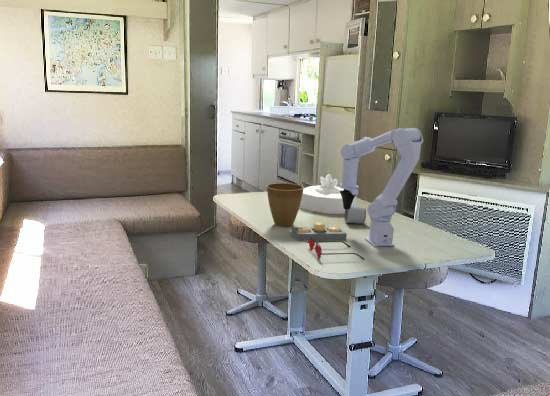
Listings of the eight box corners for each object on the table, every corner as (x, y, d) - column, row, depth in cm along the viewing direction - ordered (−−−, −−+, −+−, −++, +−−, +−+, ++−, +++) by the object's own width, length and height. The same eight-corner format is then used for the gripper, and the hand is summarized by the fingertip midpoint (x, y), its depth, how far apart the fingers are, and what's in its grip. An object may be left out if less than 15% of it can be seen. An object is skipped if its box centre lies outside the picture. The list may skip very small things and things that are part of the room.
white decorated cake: (340, 216, 226) (343, 180, 222) (291, 207, 238) (293, 173, 234) (360, 206, 247) (363, 173, 244) (314, 198, 259) (316, 167, 256)
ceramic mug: (365, 225, 211) (367, 207, 210) (346, 224, 211) (347, 206, 210) (361, 219, 222) (362, 202, 220) (342, 218, 221) (343, 201, 220)
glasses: (306, 248, 179) (307, 235, 178) (350, 247, 182) (351, 234, 181) (317, 262, 166) (318, 247, 165) (365, 260, 169) (366, 246, 168)
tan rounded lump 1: (326, 232, 191) (326, 225, 190) (315, 232, 190) (315, 225, 189) (322, 229, 195) (323, 222, 194) (311, 229, 194) (312, 222, 193)
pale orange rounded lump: (310, 237, 190) (311, 230, 189) (299, 237, 189) (299, 230, 188) (307, 234, 194) (307, 227, 193) (296, 234, 193) (296, 227, 192)
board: (346, 239, 191) (346, 233, 190) (297, 240, 186) (297, 234, 186) (335, 229, 203) (335, 224, 202) (289, 230, 199) (289, 224, 198)
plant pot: (294, 219, 216) (296, 182, 213) (306, 228, 202) (309, 189, 199) (260, 220, 211) (262, 182, 208) (271, 230, 198) (273, 190, 194)
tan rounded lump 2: (341, 237, 192) (341, 230, 192) (329, 237, 191) (330, 230, 191) (337, 233, 197) (337, 226, 196) (326, 233, 196) (326, 226, 195)
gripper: (366, 178, 190) (363, 213, 193) (352, 171, 204) (349, 204, 207) (349, 178, 189) (346, 213, 192) (335, 171, 202) (333, 204, 205)
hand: (346, 208), depth 199 cm, fingers closed
